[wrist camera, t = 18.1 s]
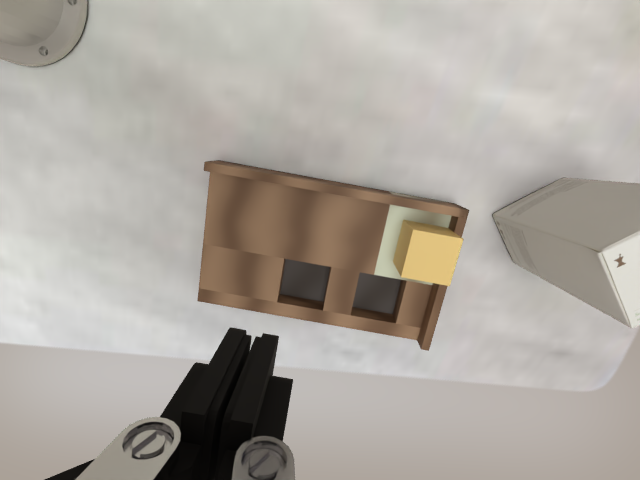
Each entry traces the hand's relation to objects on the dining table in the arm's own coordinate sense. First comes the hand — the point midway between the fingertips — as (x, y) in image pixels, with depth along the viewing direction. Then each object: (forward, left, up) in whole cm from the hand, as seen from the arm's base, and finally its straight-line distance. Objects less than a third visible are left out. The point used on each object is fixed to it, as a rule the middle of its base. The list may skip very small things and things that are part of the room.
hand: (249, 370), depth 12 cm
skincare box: (+24, +4, -27) cm, 37 cm away
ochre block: (+12, 0, -25) cm, 27 cm away
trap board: (+3, -3, -27) cm, 27 cm away
